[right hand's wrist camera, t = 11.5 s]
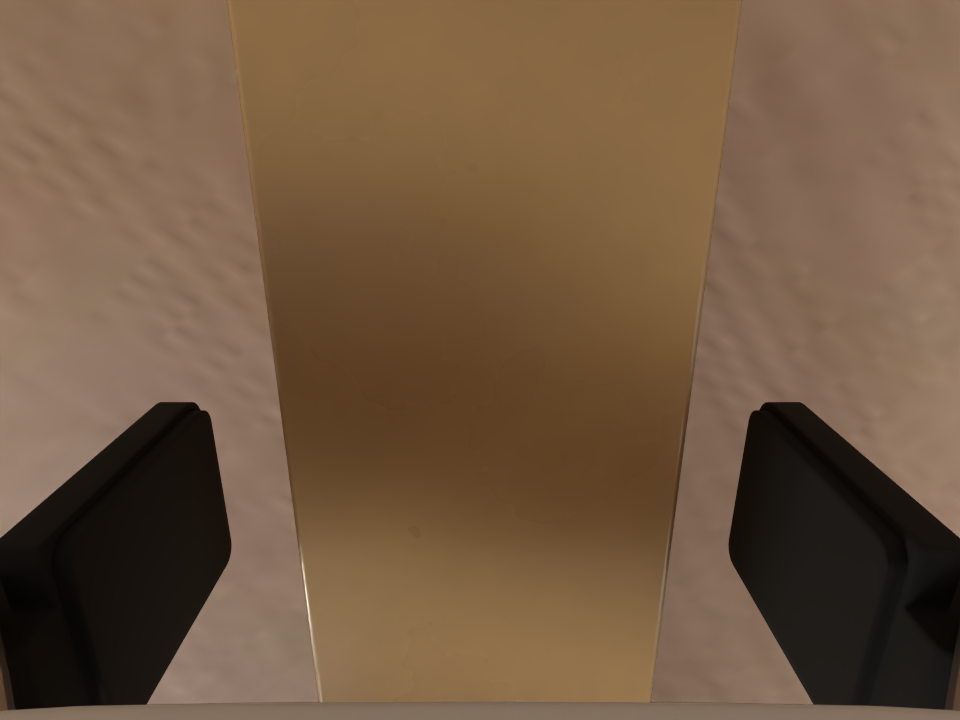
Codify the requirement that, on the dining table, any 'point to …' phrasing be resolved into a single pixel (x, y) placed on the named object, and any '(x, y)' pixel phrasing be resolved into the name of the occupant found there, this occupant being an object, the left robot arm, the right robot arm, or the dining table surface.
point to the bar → (484, 325)
